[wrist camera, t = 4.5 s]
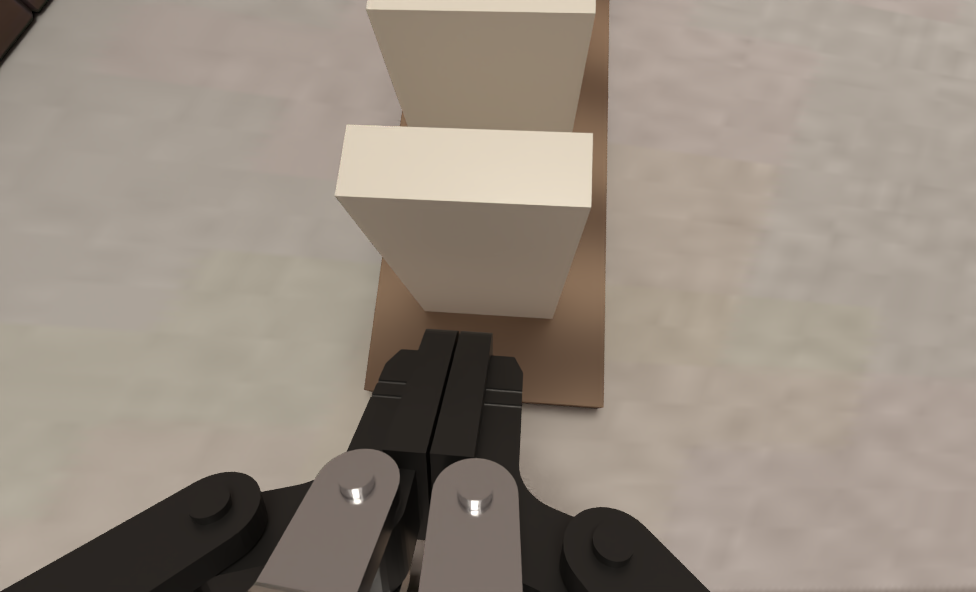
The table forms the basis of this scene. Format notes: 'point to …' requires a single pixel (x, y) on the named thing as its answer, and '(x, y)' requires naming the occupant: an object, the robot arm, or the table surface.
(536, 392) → the walnut board
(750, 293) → the table surface
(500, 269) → the domino
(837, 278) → the table surface
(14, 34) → the miniature tower
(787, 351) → the table surface
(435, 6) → the domino
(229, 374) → the table surface
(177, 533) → the robot arm
